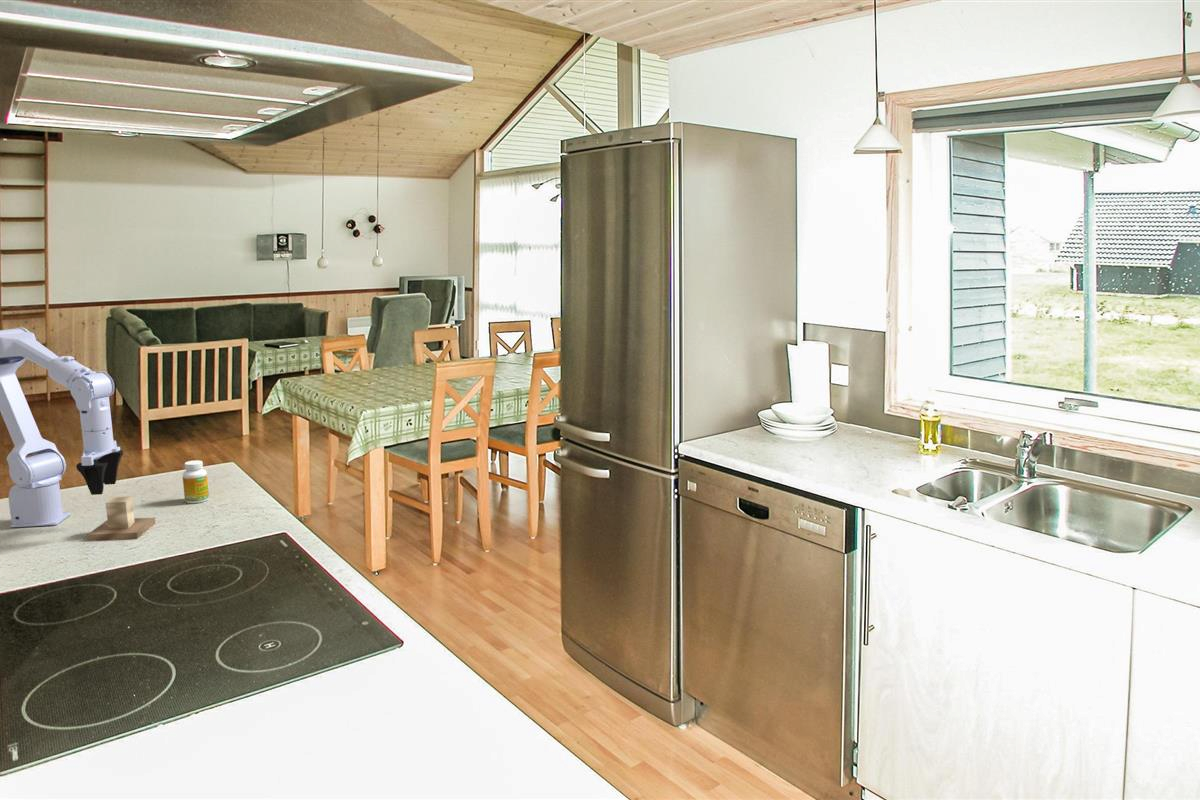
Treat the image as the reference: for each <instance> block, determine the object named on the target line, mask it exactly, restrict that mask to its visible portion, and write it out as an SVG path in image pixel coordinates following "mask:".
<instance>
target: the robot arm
mask: <svg viewBox="0 0 1200 800" xmlns="http://www.w3.org/2000/svg"><path fill="white" fill-rule="evenodd" d="M75 359H76V358H75V357H73V356H72V355H67V356H66V355H63V356H58V355H57V354H55V353H54V352H53V351H51V350H50V349H48V348H47V347H46V346H44V345H43V344H42V343H41V342H39V341H38V340H37V338H36V336H35V333H34V332H32V331H29V330H28V329H27V328H25V327H21V326H20V327H16V328H9V329H1V330H0V414H1V417H2V418H3V421H4V423H5V426H6V428H7V431H8V433H9V436H10V438H11V440H12V443H13V445H14V446H13V448H12V450H11V451H10V452H9V454H8V455H7V457H6V458H5V460H6V461H7V463H8V472H9V473H8V474H9V477H10V479H11V481H12V482H13V483H14V485H12V486H11V488H9V491H8V505H9V506H8V507H9V511H10V512H9V514H10V521H11V524H10V528H23V527H26V528H27V527H40V526H41V527H42V526H55V525H56V526H57V525H58V524H59V523H61V522H62V521H64V520H65V519H66V518H68V517H69V516H70V515H71V512H69V511H68V512H67V511H66V512H63V511H64V510H63V503H62V496H61V486H60V481H62V476H63V475H64V474H65V472H66V469H67V464H66V463H67V462H66V460H65V457H64V456H63V454H61V452H60V451H59V450H58V448H57V446H56V444H55V443H54V442H52V441H49V440H48V439H44V438H43V437H42V435H41V432H40V430H39V428H38V425H37V423H36V421H35V418H34V416H33V414H32V411H31V408H30V406H29V403H28V401H27V399H26V397H25V394H24V392H23V389H22V387H21V384H20V381H19V380H18V377H17V375H16V372H17V370H18V368H19V367H21V366H22V365H23V364H24V363H25V362H26V361H30V362H31V363H34V364H36V365H38V366H39V367H41V368H44V369H45V370H47V374H48V376H49V378H50V379H52V380H53V381H55V382H57V383H58V384H60V385H61V386H63V387H64V388H66V389H67V390H69V391H70V395H71V397H72V398H73V400H74V401H75V405H76V406H75V407H76V408H77V410H78V411H79V416H80V417H79V419H80V425H81V436H82V445H83V449H82V456H80V459H81V462H78V463H77V464H76V469H77V470H78V472H79V473H80V475H81V476H82V477H83V479H84V481H85V483H86V485H87V488H88V490H89V492H90V495H91V496H93V495H95V496H96V495H99V496H100V495H102V494H103V493H104V487H105V486H106V485H116V483H117V478H118V470H119V465H120V462H121V459H122V457H123V454H124V451H123V450H121V446H118V444H117V440H115V439H114V434H113V423H112V421H113V420H112V415H111V413H112V412H111V406H110V405H111V404H110V402H111V401H110V398H111V396H113V394H114V393H115V383H114V380H113V378H112V377H111V376H110V375H109V374H108V373H107V372H106V371H101V370H100V371H95V370H94V371H93V370H92V369H90V367H87V366H85V365H83V364H81V363H80V362H78V361H77V360H75Z"/></svg>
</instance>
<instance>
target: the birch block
mask: <svg viewBox="0 0 1200 800" xmlns="http://www.w3.org/2000/svg"><path fill="white" fill-rule="evenodd" d="M132 497H133V496H129V495H128V496H115V497H111V498H110V499H108V500H107V501H106V502H105V509H106V510H105V511H106V518H107V519H106V521H107V520H108V528H109V529H123V528H129V527H130V526H131V525H132V524H133V523H134V522H135V521H134V518H135V513H134V505H133V498H132Z"/></svg>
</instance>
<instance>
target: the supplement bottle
mask: <svg viewBox="0 0 1200 800" xmlns="http://www.w3.org/2000/svg"><path fill="white" fill-rule="evenodd" d="M184 469H185V471H183V472H182V484H183V494H184V502H185V503H186V502H187V503H186V504H200V503H201V502H202V503H205V502H207V501H208V500H209V499H210V492H209V485H208V484H209V481H208V473H207V471H206V469H204V463H203V461H202V460H200V459H199V460H197V459H196V460H189V461H186V462H185V463H184Z"/></svg>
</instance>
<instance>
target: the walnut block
mask: <svg viewBox="0 0 1200 800" xmlns="http://www.w3.org/2000/svg"><path fill="white" fill-rule="evenodd" d="M134 521H135V522H134V523H133V524H132V525H131V526H130V527H129V528H123V529H109V528H108V520H107V519H106V520H105V521H104V522H102V523H101V524H100V525H98V526H97V527H96V528H94V529H93V530H92V531H90V532H89V533H88V534H87V535H86V536H87V537H86V538H87V541H88V540H96V541H112V540H111V539H121V540H138V539H139V538H140V537H141V536H143V535H144V534H145V533H147V531H149V530H150V529H151V528H152V527H153V526H155V525H156V517H137V518H135V517H134ZM150 527H151V528H150ZM149 528H150V529H149ZM143 533H144V534H143ZM142 534H143V535H142Z"/></svg>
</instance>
